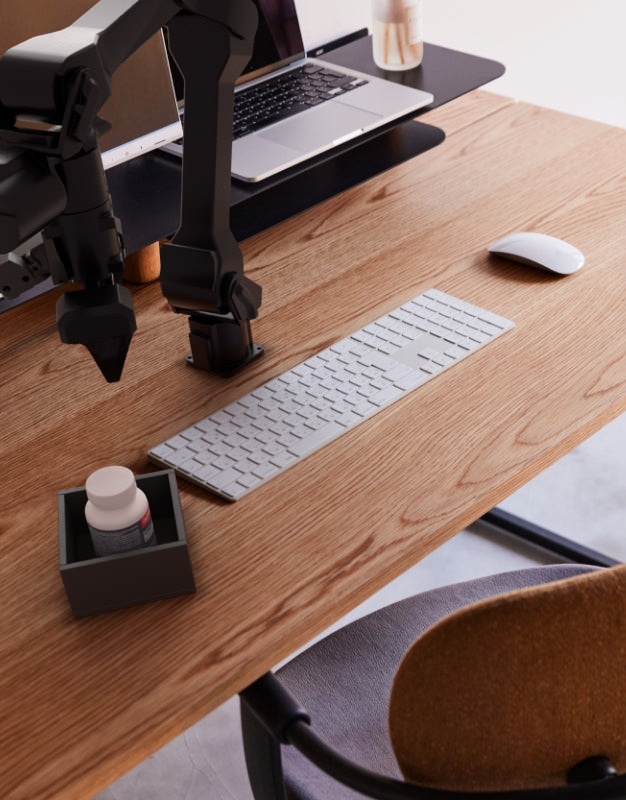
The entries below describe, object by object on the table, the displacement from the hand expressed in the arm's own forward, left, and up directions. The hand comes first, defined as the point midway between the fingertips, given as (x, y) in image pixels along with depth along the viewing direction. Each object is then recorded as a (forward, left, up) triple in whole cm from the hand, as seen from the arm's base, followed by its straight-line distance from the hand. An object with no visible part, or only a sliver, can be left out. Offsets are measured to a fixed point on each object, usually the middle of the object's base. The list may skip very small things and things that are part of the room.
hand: (110, 354), depth 99 cm
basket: (+11, +11, -12) cm, 20 cm away
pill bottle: (+11, +11, -12) cm, 19 cm away
